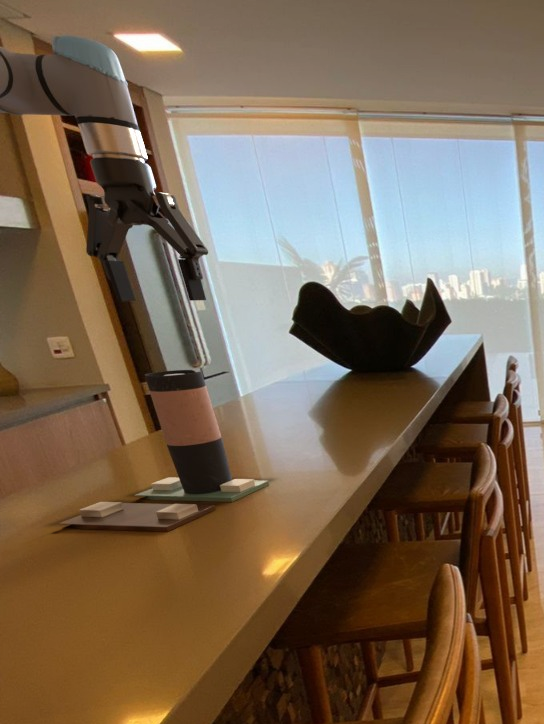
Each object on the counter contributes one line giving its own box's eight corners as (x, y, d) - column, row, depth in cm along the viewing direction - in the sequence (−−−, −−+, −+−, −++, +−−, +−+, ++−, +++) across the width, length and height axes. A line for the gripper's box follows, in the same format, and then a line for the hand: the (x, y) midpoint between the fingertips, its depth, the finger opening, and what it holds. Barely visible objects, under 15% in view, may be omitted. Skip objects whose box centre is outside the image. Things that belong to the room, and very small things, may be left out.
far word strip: (135, 499, 97) (131, 488, 96) (179, 482, 105) (176, 472, 104) (232, 502, 95) (228, 490, 95) (269, 484, 104) (266, 474, 103)
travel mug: (174, 497, 96) (133, 377, 88) (193, 483, 102) (157, 370, 95) (225, 492, 97) (190, 374, 90) (241, 479, 104) (209, 368, 97)
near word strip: (59, 528, 85) (53, 516, 85) (115, 506, 94) (111, 495, 93) (168, 531, 84) (163, 519, 83) (215, 509, 92) (212, 498, 91)
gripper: (209, 162, 93) (244, 299, 101) (73, 167, 96) (118, 300, 103) (170, 152, 86) (210, 300, 94) (24, 158, 89) (76, 301, 96)
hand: (162, 301), depth 99 cm, fingers open, 13 cm apart
